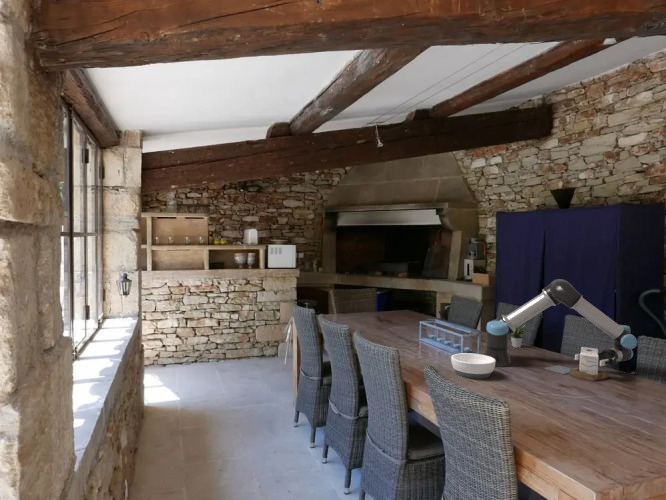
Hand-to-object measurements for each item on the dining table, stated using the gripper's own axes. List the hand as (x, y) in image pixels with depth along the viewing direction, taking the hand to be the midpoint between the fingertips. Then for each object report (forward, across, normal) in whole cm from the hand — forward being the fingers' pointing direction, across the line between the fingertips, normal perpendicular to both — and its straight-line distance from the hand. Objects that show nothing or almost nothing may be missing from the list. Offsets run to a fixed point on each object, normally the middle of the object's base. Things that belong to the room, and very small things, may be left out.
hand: (587, 360), depth 254 cm
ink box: (-2, 0, -9) cm, 9 cm away
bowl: (+49, +32, -9) cm, 59 cm away
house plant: (-24, +66, -9) cm, 70 cm away
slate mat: (0, +15, -9) cm, 17 cm away
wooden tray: (-2, 0, -9) cm, 9 cm away
